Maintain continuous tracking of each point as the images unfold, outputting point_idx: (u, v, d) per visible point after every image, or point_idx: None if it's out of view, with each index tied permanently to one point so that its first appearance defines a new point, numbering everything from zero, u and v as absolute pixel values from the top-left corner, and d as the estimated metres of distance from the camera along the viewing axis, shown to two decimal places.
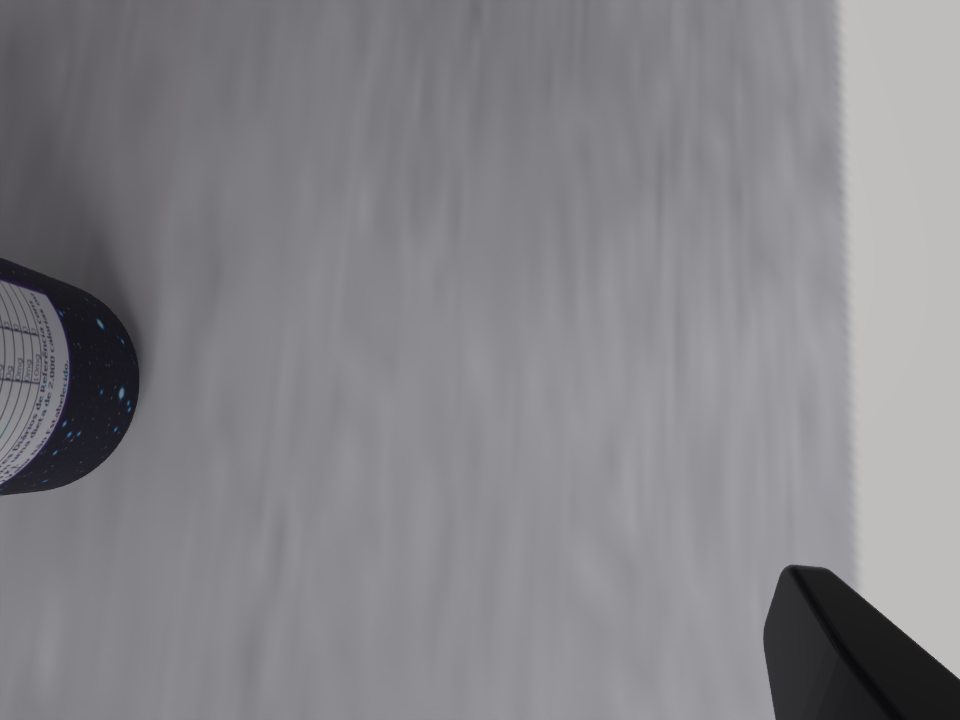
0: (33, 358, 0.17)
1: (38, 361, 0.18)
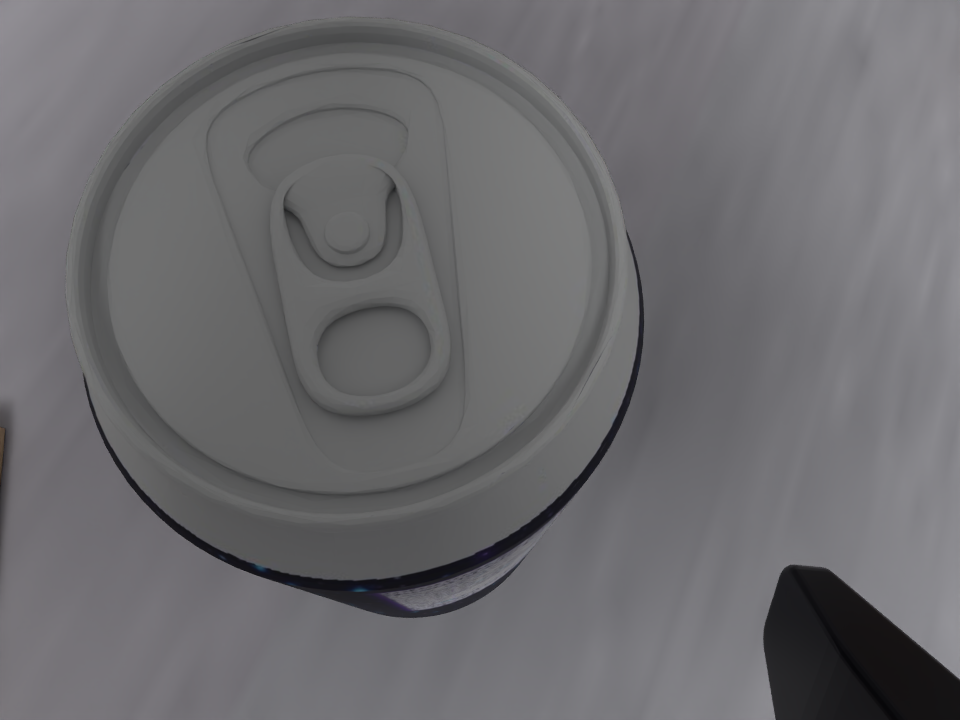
0: None
1: None
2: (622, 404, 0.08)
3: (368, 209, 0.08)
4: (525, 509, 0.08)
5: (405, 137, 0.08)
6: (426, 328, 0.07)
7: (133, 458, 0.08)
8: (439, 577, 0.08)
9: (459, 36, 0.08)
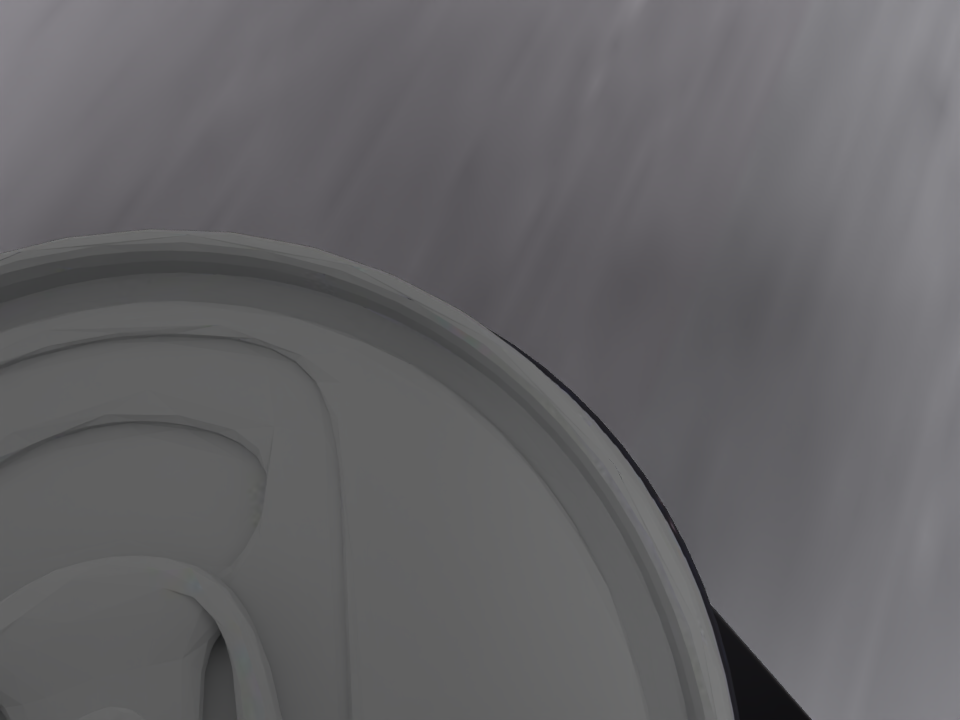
0: None
1: None
2: None
3: (160, 698, 0.03)
4: None
5: (261, 486, 0.04)
6: None
7: None
8: None
9: (375, 274, 0.04)
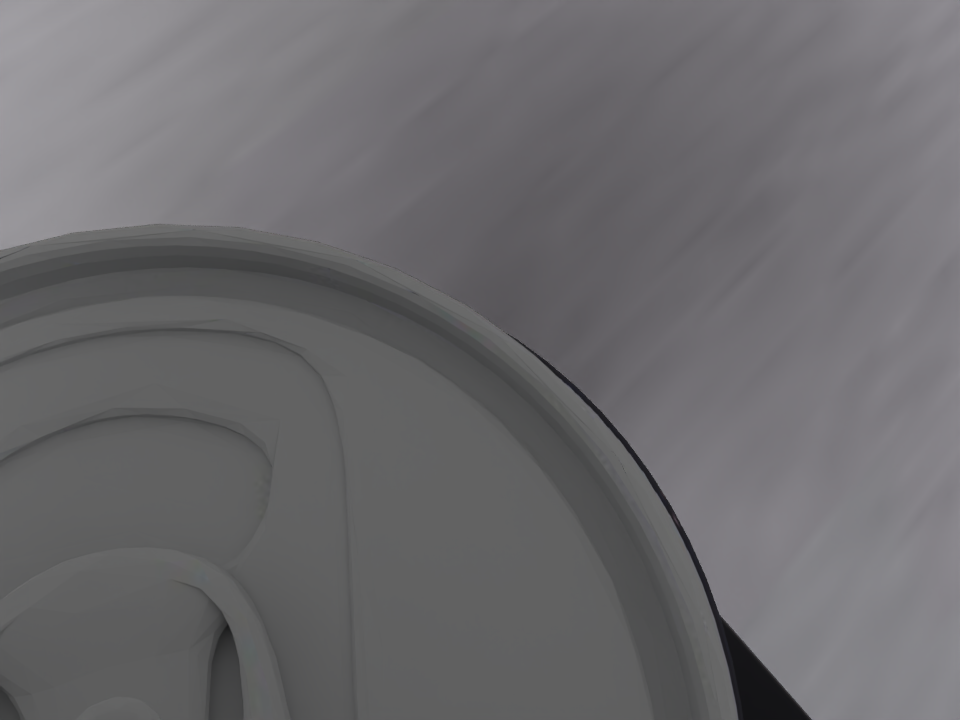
0: None
1: None
2: None
3: (167, 688, 0.03)
4: None
5: (265, 478, 0.04)
6: None
7: None
8: None
9: (379, 269, 0.04)
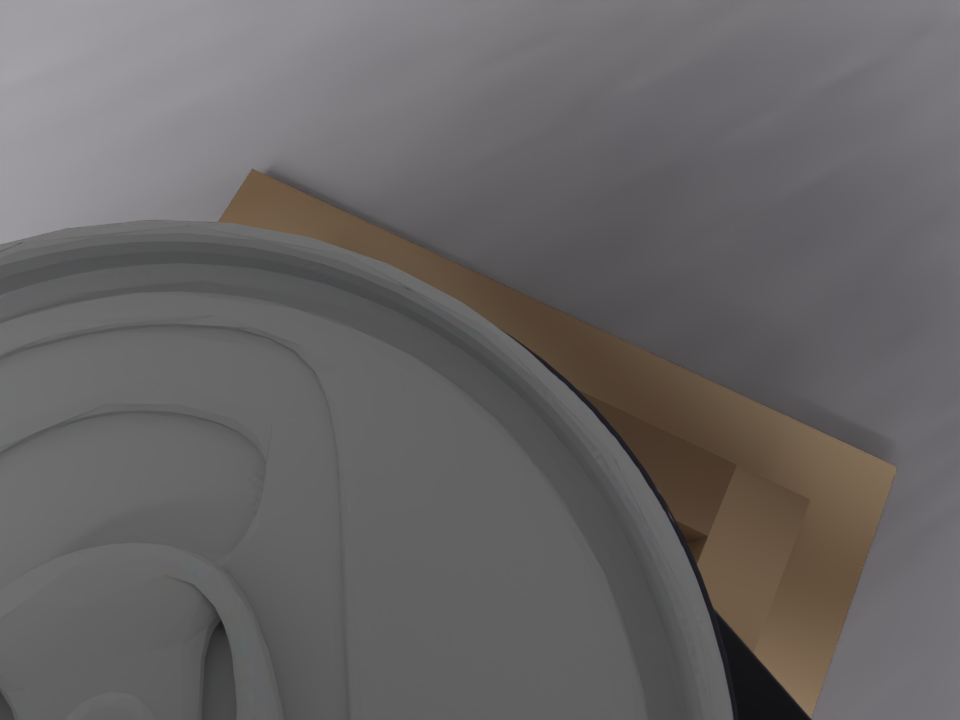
0: None
1: None
2: None
3: (160, 684, 0.03)
4: None
5: (258, 476, 0.04)
6: None
7: None
8: None
9: (373, 265, 0.04)
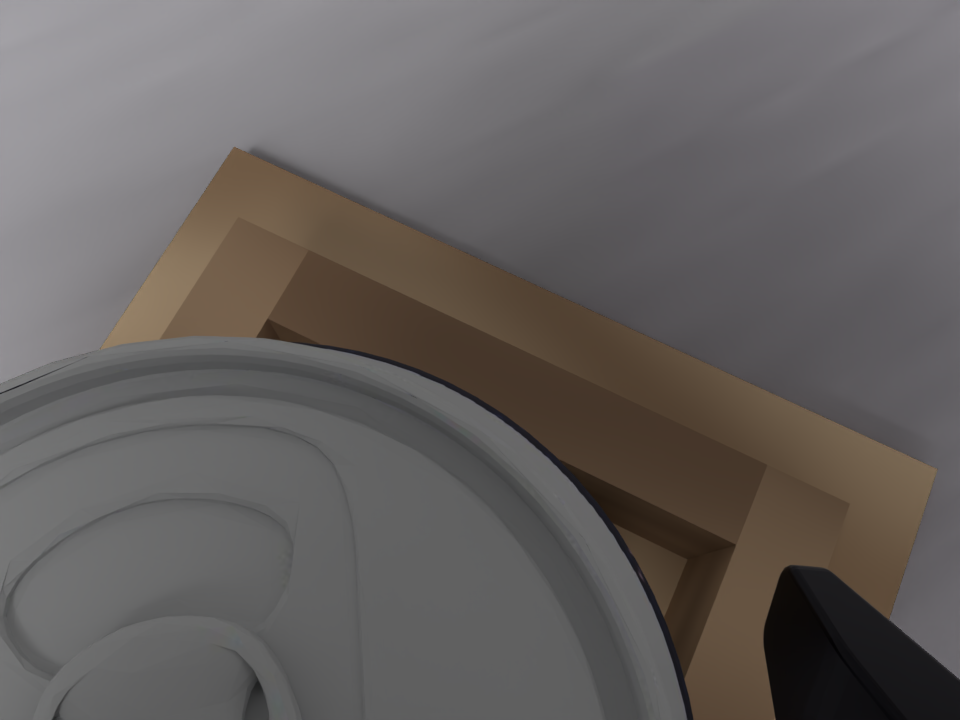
0: None
1: None
2: None
3: None
4: None
5: (289, 552, 0.05)
6: None
7: None
8: None
9: (383, 375, 0.05)
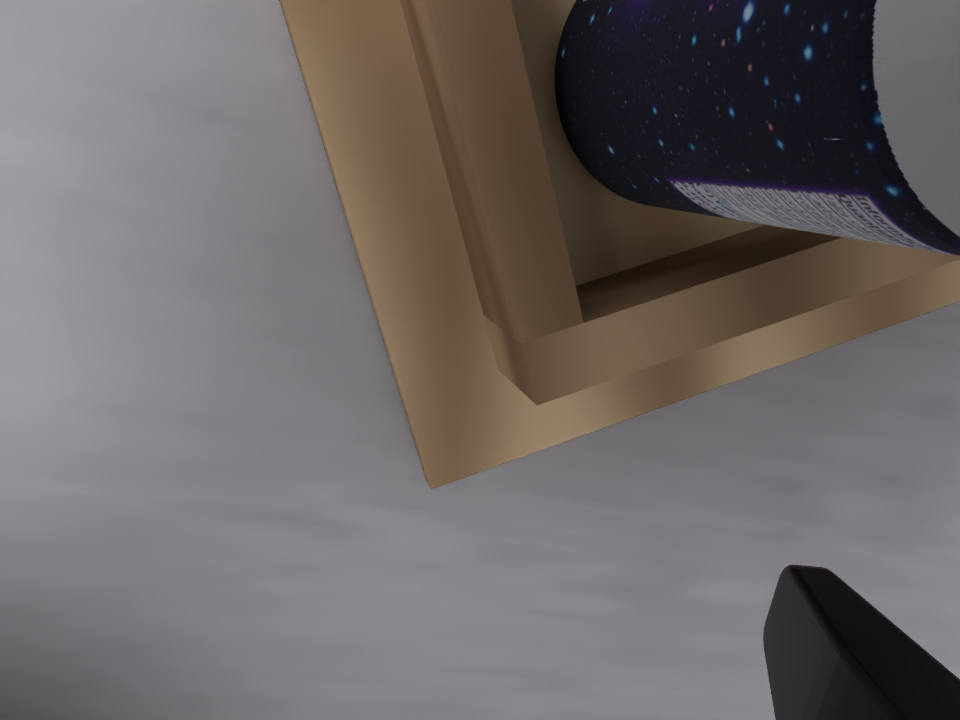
0: None
1: None
2: None
3: None
4: None
5: None
6: None
7: None
8: (929, 230, 0.10)
9: None
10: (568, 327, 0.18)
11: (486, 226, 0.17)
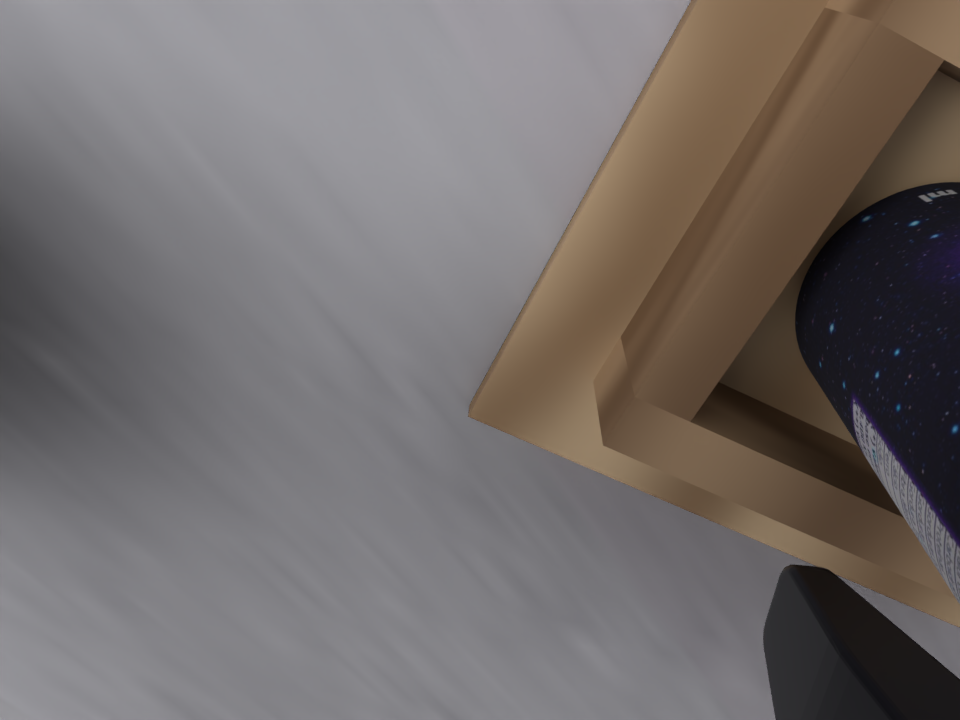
0: None
1: None
2: None
3: None
4: None
5: None
6: None
7: None
8: None
9: None
10: (677, 415, 0.19)
11: (691, 295, 0.18)
